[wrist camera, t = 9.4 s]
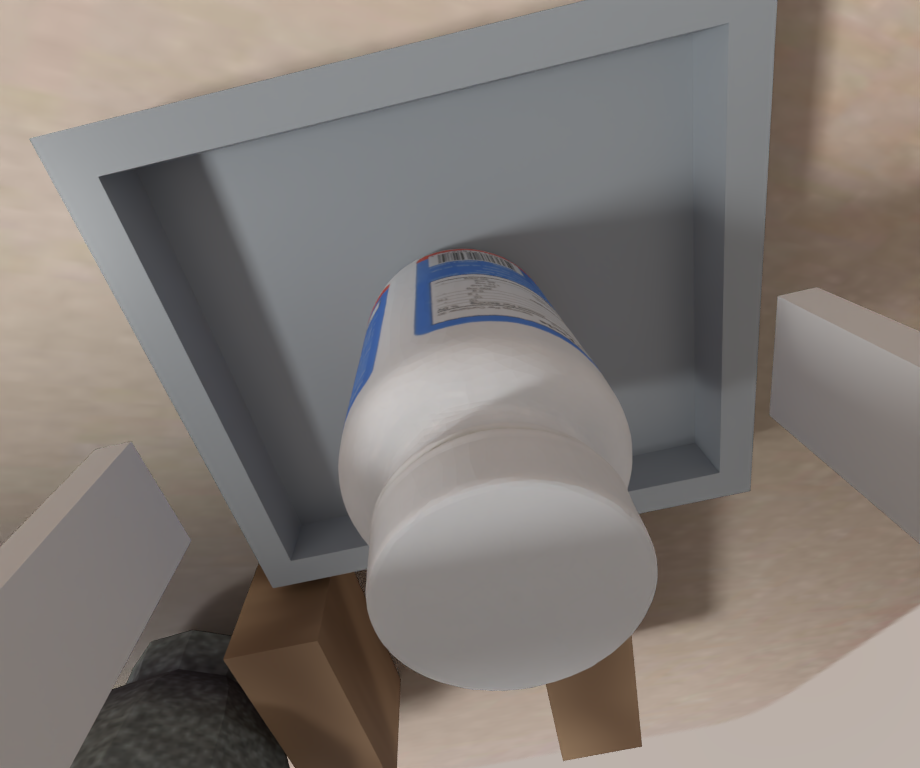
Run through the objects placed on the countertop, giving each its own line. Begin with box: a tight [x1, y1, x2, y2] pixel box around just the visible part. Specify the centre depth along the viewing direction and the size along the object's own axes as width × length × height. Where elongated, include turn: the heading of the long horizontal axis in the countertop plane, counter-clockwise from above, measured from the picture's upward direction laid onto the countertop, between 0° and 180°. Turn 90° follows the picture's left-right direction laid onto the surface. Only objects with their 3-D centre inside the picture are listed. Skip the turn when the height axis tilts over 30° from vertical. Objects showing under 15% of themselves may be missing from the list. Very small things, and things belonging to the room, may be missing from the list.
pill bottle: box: [338, 249, 658, 691], centre depth 11 cm, size 6×5×10 cm
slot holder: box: [223, 564, 642, 768], centre depth 20 cm, size 12×9×4 cm
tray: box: [30, 0, 777, 588], centre depth 15 cm, size 16×14×2 cm
